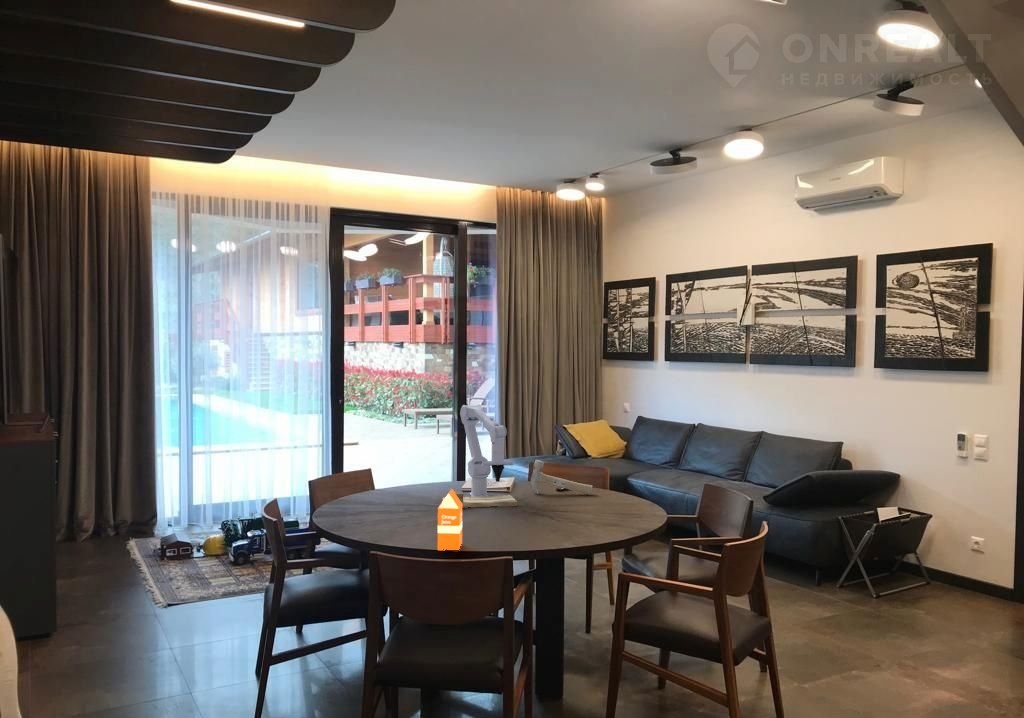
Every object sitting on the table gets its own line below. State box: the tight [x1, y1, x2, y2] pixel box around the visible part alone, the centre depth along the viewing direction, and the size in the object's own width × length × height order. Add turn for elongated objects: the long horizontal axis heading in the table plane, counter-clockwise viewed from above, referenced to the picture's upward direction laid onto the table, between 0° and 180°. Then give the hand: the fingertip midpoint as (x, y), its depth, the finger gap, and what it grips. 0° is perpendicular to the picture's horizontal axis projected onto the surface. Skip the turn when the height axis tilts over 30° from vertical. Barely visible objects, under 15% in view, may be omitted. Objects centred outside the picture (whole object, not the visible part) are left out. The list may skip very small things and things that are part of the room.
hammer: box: [530, 459, 594, 496], centre depth 343 cm, size 16×5×30 cm
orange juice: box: [437, 488, 463, 551], centre depth 247 cm, size 8×9×20 cm
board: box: [441, 494, 518, 509], centre depth 319 cm, size 14×32×2 cm, turn 102°
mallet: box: [453, 490, 464, 503], centre depth 316 cm, size 10×5×4 cm, turn 12°
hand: (497, 481), depth 324 cm, fingers closed
